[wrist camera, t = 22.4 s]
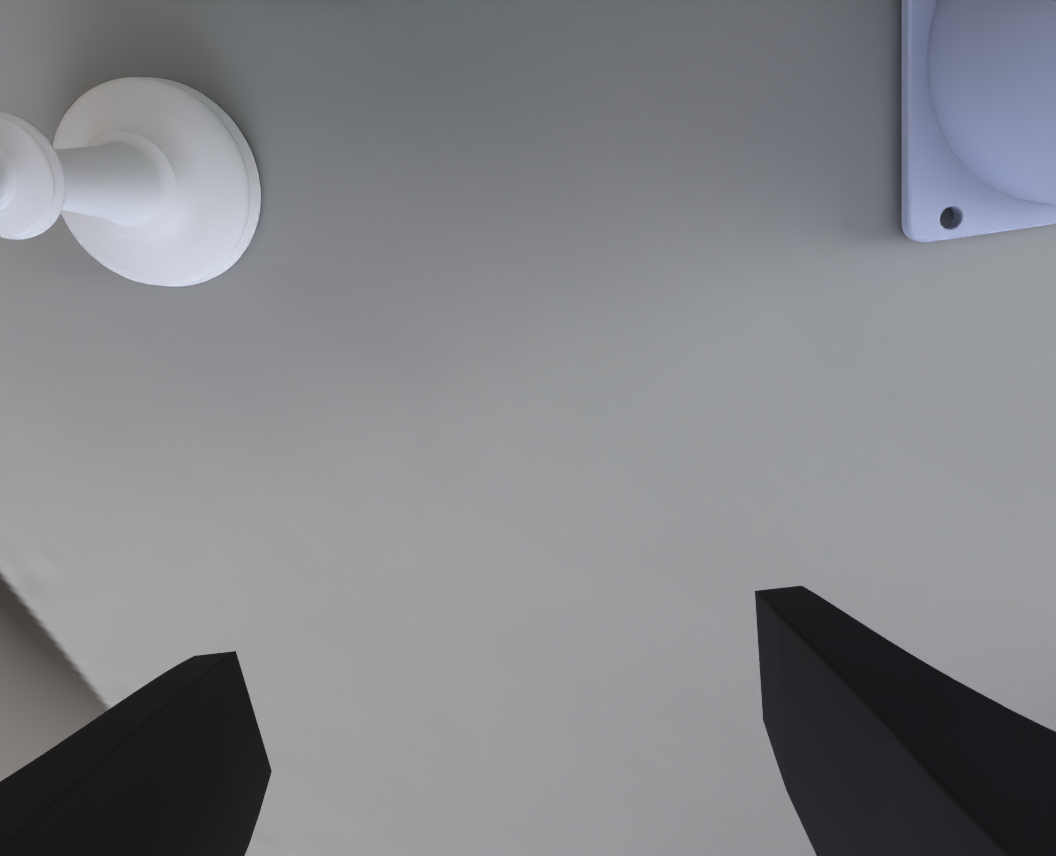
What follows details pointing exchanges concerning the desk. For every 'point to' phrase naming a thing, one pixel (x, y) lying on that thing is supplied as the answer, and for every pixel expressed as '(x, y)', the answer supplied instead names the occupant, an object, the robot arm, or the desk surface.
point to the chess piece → (136, 181)
